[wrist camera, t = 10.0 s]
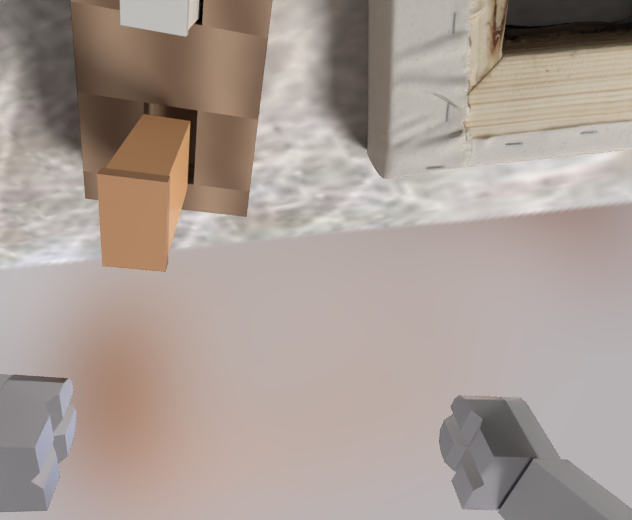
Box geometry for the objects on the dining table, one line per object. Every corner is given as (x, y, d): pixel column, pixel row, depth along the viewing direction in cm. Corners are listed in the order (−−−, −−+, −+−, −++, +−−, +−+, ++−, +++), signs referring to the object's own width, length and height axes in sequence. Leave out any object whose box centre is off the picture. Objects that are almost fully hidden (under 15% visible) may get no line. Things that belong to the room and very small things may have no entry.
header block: (106, 168, 40) (85, 198, 35) (91, -146, 30) (57, -167, 25) (247, 186, 43) (246, 216, 38) (280, -100, 32) (285, -111, 27)
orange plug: (142, 185, 34) (102, 266, 25) (141, 112, 31) (97, 173, 22) (188, 190, 34) (165, 271, 25) (191, 119, 32) (167, 182, 23)
